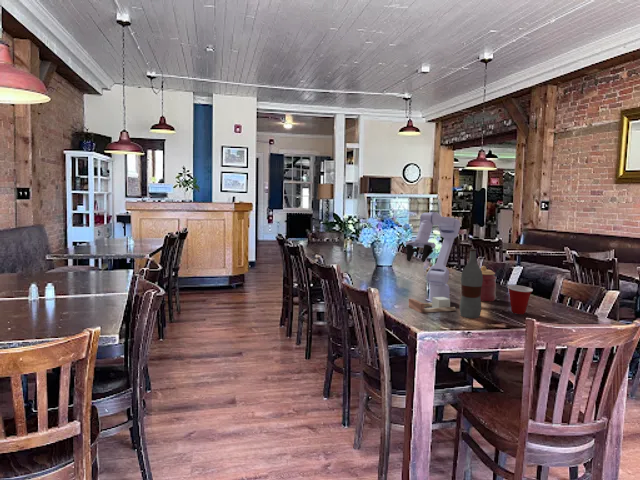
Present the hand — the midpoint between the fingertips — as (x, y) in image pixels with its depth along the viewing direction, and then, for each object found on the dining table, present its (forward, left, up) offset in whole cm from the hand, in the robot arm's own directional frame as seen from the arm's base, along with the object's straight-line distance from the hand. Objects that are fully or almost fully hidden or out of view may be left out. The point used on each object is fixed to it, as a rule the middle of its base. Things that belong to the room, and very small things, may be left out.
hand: (415, 260), depth 216 cm
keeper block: (-15, -1, -23) cm, 27 cm away
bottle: (-20, +15, -23) cm, 34 cm away
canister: (-48, -15, -23) cm, 55 cm away
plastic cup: (-46, +15, -23) cm, 54 cm away
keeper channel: (-10, -1, -23) cm, 25 cm away
